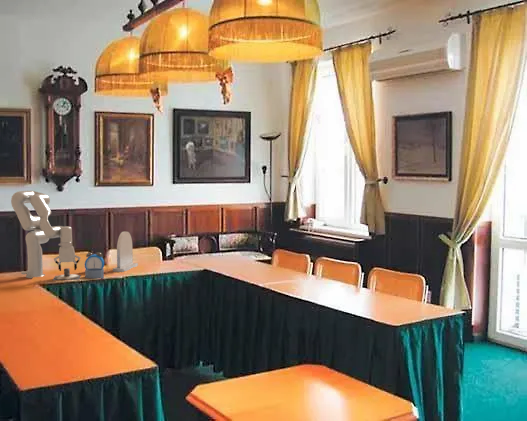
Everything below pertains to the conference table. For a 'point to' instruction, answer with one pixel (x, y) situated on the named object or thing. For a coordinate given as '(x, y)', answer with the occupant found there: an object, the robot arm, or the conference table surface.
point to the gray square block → (94, 273)
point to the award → (124, 253)
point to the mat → (69, 279)
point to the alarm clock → (94, 260)
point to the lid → (66, 275)
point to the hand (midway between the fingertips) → (67, 270)
